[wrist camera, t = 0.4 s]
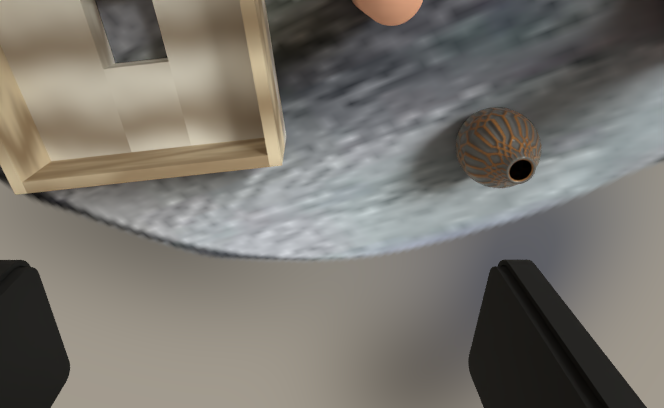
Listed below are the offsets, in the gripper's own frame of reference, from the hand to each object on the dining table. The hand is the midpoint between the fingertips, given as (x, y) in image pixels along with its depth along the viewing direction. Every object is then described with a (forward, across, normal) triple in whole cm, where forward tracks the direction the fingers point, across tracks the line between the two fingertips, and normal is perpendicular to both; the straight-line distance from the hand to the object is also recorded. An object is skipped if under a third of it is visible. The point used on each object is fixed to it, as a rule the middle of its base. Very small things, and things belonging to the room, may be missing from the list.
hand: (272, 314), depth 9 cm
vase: (+33, -18, +7) cm, 38 cm away
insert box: (+33, +14, -2) cm, 36 cm away
